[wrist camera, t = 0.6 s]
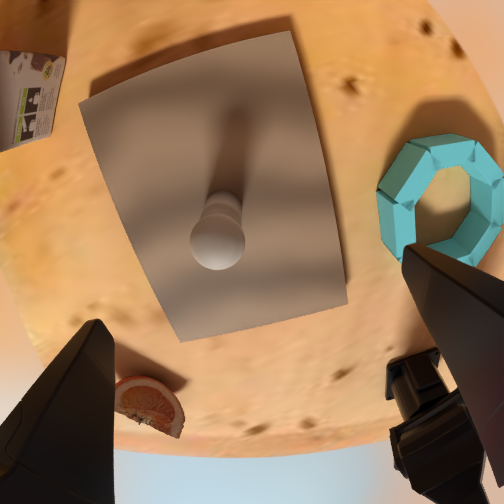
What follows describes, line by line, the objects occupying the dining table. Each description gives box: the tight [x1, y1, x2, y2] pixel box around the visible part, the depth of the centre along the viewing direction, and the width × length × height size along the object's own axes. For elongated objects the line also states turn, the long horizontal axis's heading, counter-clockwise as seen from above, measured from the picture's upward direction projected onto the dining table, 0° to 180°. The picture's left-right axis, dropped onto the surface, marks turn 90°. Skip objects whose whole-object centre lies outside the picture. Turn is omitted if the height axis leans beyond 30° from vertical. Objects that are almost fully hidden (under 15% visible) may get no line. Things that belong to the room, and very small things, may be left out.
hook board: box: [78, 31, 348, 343], centre depth 18 cm, size 20×14×8 cm
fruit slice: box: [114, 376, 185, 438], centre depth 29 cm, size 8×7×5 cm
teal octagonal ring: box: [376, 133, 504, 267], centre depth 21 cm, size 11×11×3 cm
